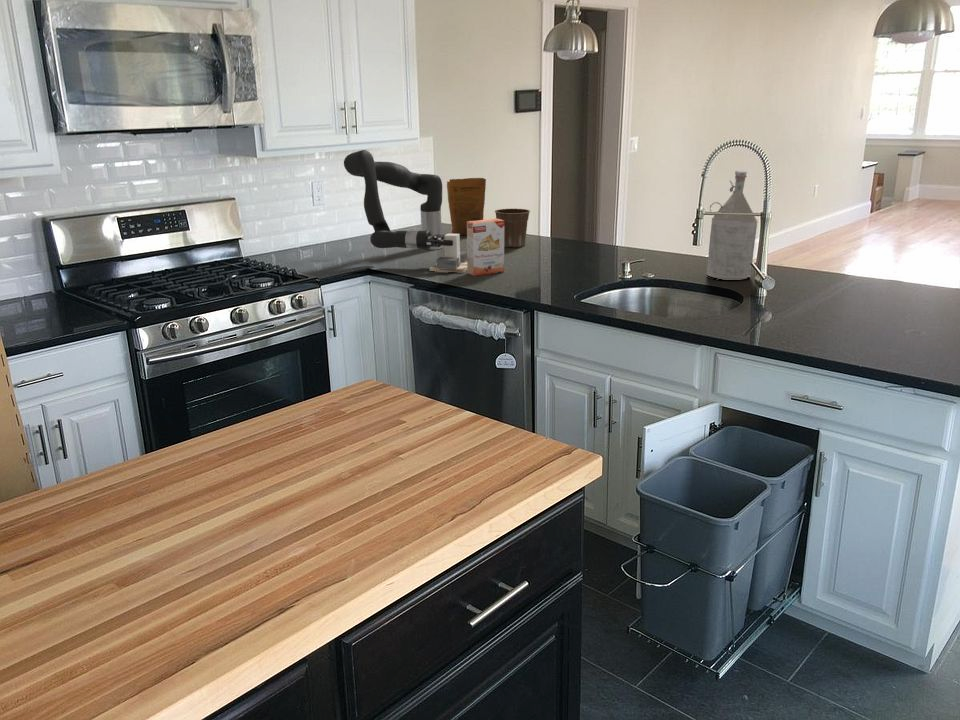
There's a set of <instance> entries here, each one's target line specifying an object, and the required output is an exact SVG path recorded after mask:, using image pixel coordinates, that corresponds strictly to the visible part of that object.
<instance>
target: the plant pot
mask: <svg viewBox="0 0 960 720" xmlns="http://www.w3.org/2000/svg"><path fill="white" fill-rule="evenodd" d="M494 213H495V219H501V220H504V248H510V247H511V248H514V249H515V248H522V247H525V246H526V240H527V231H528V222H529V216H530V213H531V210H530V209H526V208H501V209H500V208H499V209H495V210H494Z"/></svg>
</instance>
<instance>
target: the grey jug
mask: <svg viewBox="0 0 960 720" xmlns="http://www.w3.org/2000/svg"><path fill="white" fill-rule="evenodd" d="M734 171H735V172H734V174H735V177H734V178H735V182H734V183H733V182H732V181H731V180H729V182H730V185H731V187H730V188H729V192H730V193H732V194H731V196H729V198H728V199H727V200H726V201H725V202H724V204H723V205H722V204H721V202H718V201H714V202H712V203H711V204H710V205H709V212H710V213H712V209H711V208H712V207H713V205H714V204H718V205H720V207H719V209H718V211H717V212H721V213H753V214H754V212H753V210H752V208H751V206H750V205H749V202H748V201H747V199H746V197H745V194H744V193H743V192H744V187H745V182H746V178H747V174H748V172H747V171H746V170H743V169H737V170H734ZM710 227H711V228H710V235H709V243H708V244H709V246H708V258H707V270H706V276H707V275H708V276H712V277H718V278H745V277H750V276H751V275H752V267H753V265H752V266H751V264H750V263H751V262H752V263H753V259H754V251H755V244H756V235H757V227H758V220H757V218H756V216H755V215H754V216H745V215H713V217H712V218H711V226H710ZM708 276H707V277H708ZM751 277H752V276H751Z"/></svg>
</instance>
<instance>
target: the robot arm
mask: <svg viewBox="0 0 960 720" xmlns="http://www.w3.org/2000/svg"><path fill="white" fill-rule="evenodd" d="M343 166H344V169H345V170H346V172H347V173H348V174H349V175H351V176H354V177H360V178H363V179H364V185H365V186H364V187H365V188H364V197H363V209H364V212H365V216H366V220H367V223H368V224H369V225H370V226H372V228H373V230H374V232H373V233H372V234H371V235H370V238H369V240H370V243H371V245H372V246H373V247H374V248H377V249H389V248H390V249H391V248H400V249H412V250H413V249H414V250H427V251H428V250H432V251H433V250H440V249H441V250H442V248H443V247H445V246H452V245H453V240H445V235H446V234H443V233H442V230H443V229H442V212H441V211H442V204H443V182H442V181H443V180H442V179H441V177H440V176H439V175H437V174H431V173H430V174H429V173H417V172H413V171H410V170H409V169H408V168H407V167H406V166H405V165H402V164H400V163H399V164H398V163H396V162H390V161H375V160H374V156H373V154H372V153H371V152H370V151H369V150H367V149H361V150H357V151H355V152H352V153H349V154H348V155H346V156H345V157H344V160H343ZM378 182H380V183H384V184H386V185H390V186H393V187H398V188H404V189H410V190H411V191H414V192H416V193H418V194H419V195H423V196H427V198H426V201H425V202H423V203H420V205H419V206H420V226H421V229H420V230H419V229H418V230H414V229H413V230H396V231H392V230H391V229H390V226H389V224H388V223H387V220H386V219H385V214H384V212H383V208H382V205H381V200H380V195H379V189H378Z"/></svg>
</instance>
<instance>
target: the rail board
mask: <svg viewBox="0 0 960 720" xmlns="http://www.w3.org/2000/svg"><path fill="white" fill-rule="evenodd" d="M466 270H467V251H464V250H463V251H461V250H460V261H459V258H452V257H445V256H440V257H438V258H437V259H436V263H435V264H433V265H431V266H430V267H429V272H430V271H435V272H434V273H448V272H457V273H456V274H464V273H465V272H466ZM436 271H437V272H436ZM463 272H464V273H463Z"/></svg>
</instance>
